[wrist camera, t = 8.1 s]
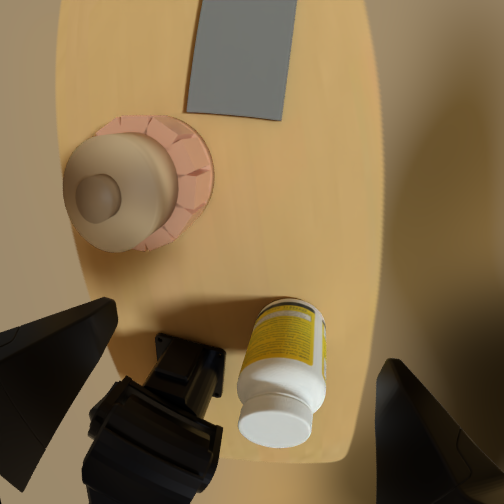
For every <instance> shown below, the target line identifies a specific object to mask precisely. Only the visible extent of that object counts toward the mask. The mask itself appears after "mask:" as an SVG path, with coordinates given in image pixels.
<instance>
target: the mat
mask: <svg viewBox="0 0 504 504" xmlns="http://www.w3.org/2000/svg"><path fill="white" fill-rule="evenodd" d="M296 4H297V0H203V3H202V8H201V13H200V19H199V25H198V31H197V37H196V43H195V50H194V56H193V63H192V71H191V78H190V86H189V95H188V103H187V112H196V113H212V114H225V115H237V116H246V117H256V118H264V119H272V120H279V121H281V120H282V112H283V105H284V97H285V90H286V82H287V75H288V67H289V60H290V52H291V44H292V36H293V28H294V20H295V12H296Z"/></svg>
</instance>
